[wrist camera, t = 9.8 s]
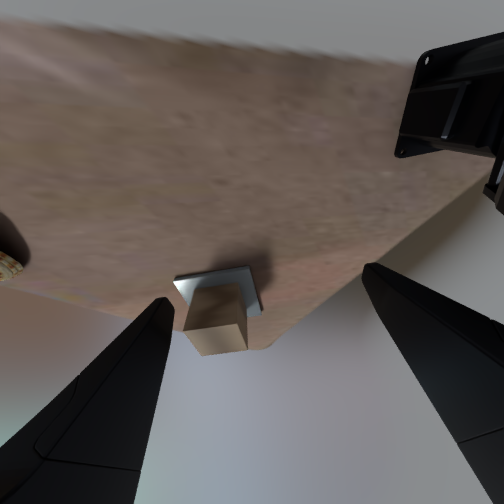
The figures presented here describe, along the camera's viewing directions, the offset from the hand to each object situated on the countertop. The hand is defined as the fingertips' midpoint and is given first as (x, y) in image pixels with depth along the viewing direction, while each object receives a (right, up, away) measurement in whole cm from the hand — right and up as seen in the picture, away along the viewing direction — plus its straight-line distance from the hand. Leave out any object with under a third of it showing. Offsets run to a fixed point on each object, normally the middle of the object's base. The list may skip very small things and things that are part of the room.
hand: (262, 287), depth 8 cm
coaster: (-5, -5, +18) cm, 20 cm away
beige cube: (-5, -5, +18) cm, 19 cm away
